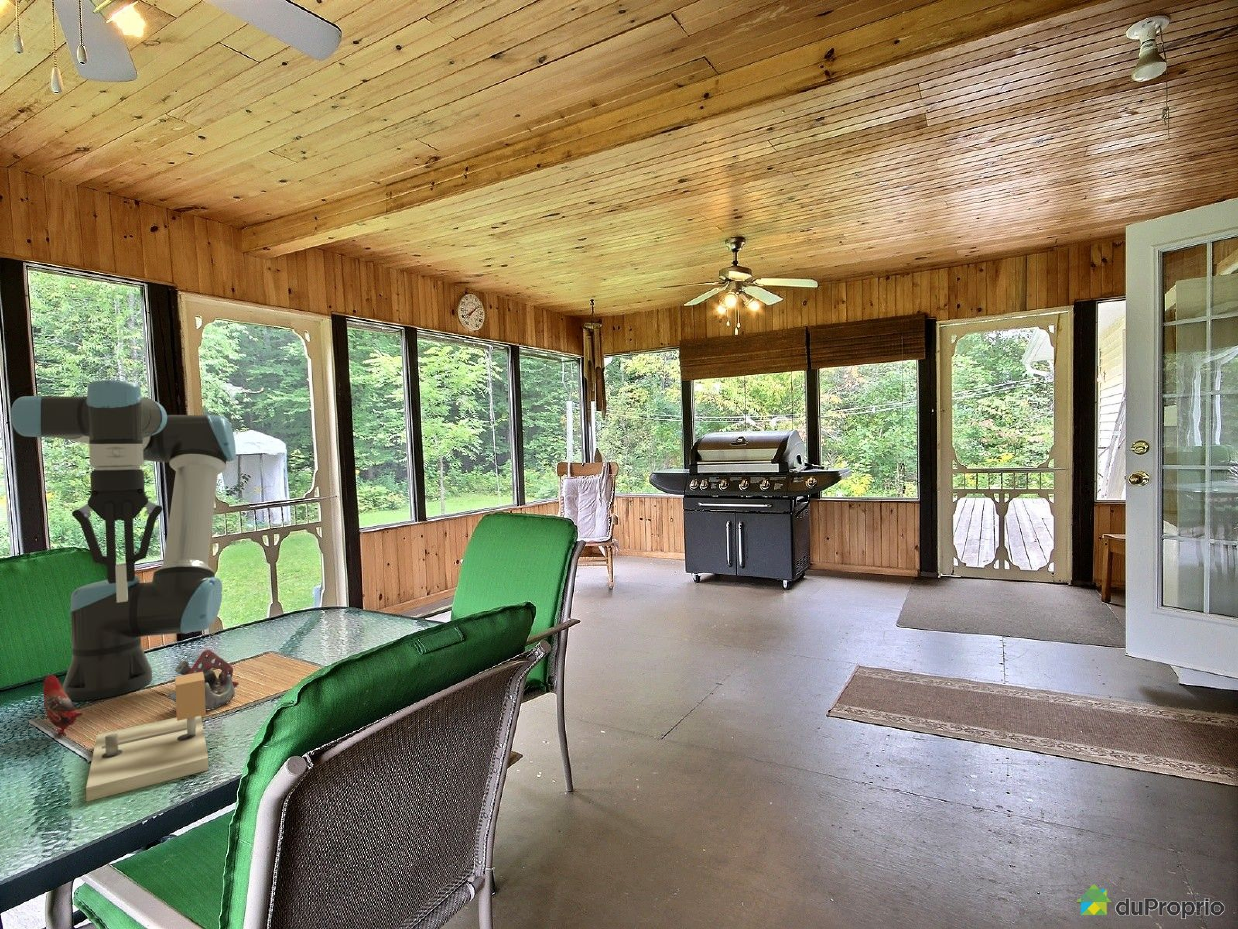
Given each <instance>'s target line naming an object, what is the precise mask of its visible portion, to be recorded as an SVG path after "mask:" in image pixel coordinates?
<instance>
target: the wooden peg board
mask: <svg viewBox="0 0 1238 929" xmlns="http://www.w3.org/2000/svg"><path fill="white" fill-rule="evenodd" d="M195 724H196V733H194V734H191V735H188V734H187V719H184V720H179V721H177V716H176V717H172V718H167V719H162V720H159V721H157V720H156V721H153V722H148V723H144V724H139V725H135V726H130V727H125V728H119V729H117V730H116V729H115V730H111V731H107V732H106V731H105V732H102V733H98V734H96V738H95V739H96V740H95V744H94V748H93V754H92V758H91V761H90V762H91V763H90V767H89V773H88V776H87V777H88V778H87V781H86V782H87V783H86V787H85V791H86V792H85V793H86V794H85V796H86V802H91V801H94V800H97V799H101V798H106V797H109V796H113V795H117V794H121V793H125V792H129V791H133V790H137V789H140V788H143V787H148V786H151V785H156V784H160V783H164V782H167V781H171V780H175V779H178V778H179V779H180V778H182V777H186V776H190V775H194V774H198V773H203V772H206V771H209V755H208V754H209V753H208V748H207V744H206V738H205V732H204V725H203V719H202V716H197V717H195Z"/></svg>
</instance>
